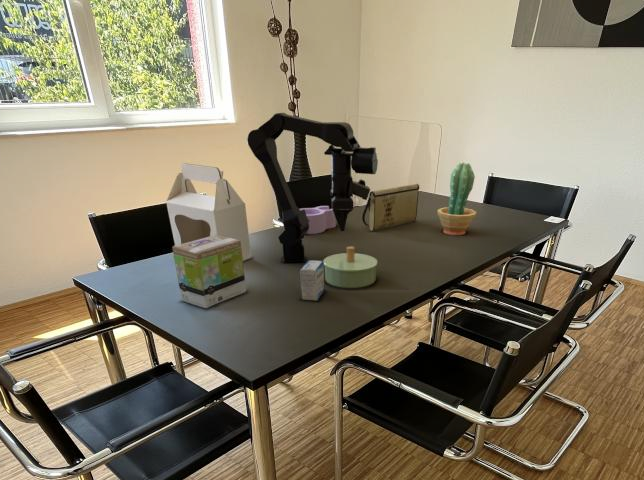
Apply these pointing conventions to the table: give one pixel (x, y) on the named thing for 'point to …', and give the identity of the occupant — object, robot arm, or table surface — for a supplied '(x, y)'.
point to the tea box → (209, 270)
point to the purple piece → (320, 219)
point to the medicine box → (312, 280)
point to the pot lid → (350, 261)
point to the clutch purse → (392, 206)
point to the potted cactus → (458, 201)
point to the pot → (350, 278)
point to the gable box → (206, 209)
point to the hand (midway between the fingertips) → (341, 227)
